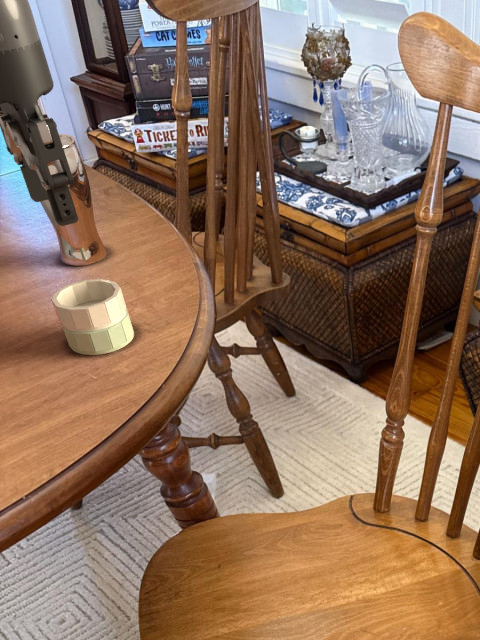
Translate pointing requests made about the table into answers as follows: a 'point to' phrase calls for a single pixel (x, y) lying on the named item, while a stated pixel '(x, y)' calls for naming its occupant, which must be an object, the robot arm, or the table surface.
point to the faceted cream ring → (89, 305)
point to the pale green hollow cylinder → (101, 338)
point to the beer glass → (82, 236)
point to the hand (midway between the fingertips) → (55, 211)
